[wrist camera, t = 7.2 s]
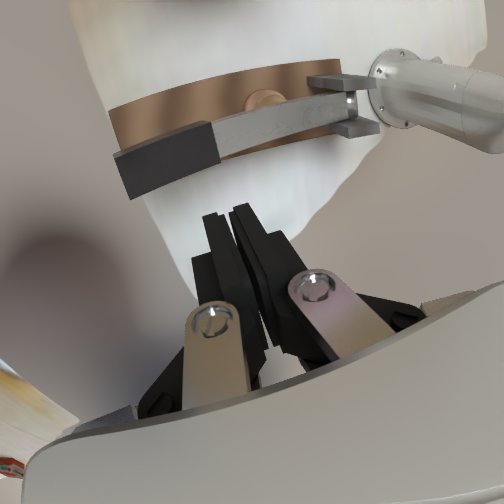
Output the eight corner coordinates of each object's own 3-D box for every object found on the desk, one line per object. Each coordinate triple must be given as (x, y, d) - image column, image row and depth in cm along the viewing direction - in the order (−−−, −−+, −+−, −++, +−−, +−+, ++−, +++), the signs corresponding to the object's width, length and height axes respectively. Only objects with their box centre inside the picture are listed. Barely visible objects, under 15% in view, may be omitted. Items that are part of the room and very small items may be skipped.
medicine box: (8, 463, 75) (7, 477, 68) (-5, 456, 70) (-6, 470, 63) (25, 464, 75) (24, 479, 69) (12, 457, 71) (11, 472, 64)
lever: (345, 86, 29) (359, 87, 27) (348, 115, 31) (362, 118, 29) (112, 154, 21) (114, 158, 20) (127, 192, 24) (130, 200, 22)
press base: (333, 58, 32) (380, 60, 24) (342, 128, 38) (387, 148, 30) (110, 109, 29) (89, 122, 21) (136, 184, 35) (127, 220, 27)
